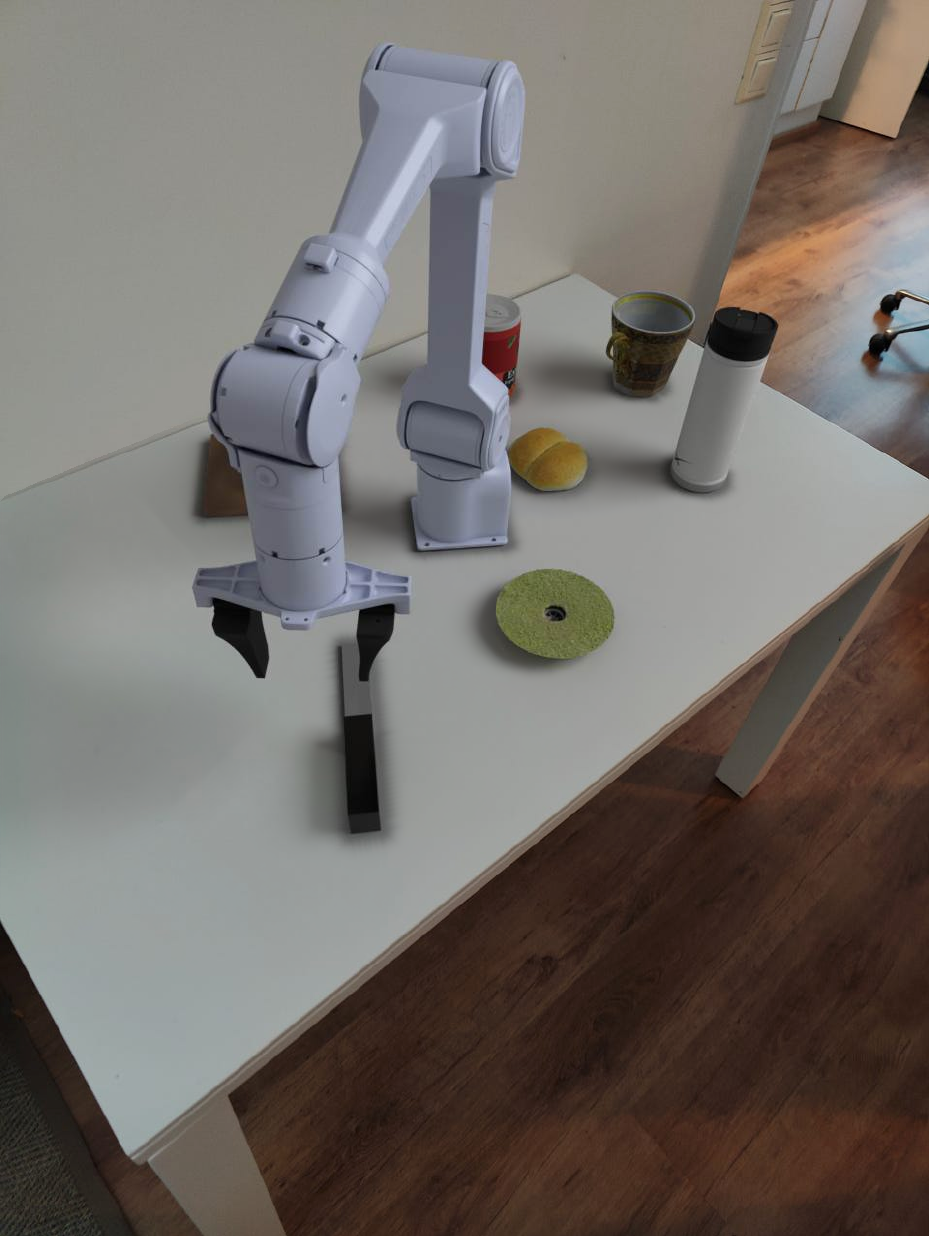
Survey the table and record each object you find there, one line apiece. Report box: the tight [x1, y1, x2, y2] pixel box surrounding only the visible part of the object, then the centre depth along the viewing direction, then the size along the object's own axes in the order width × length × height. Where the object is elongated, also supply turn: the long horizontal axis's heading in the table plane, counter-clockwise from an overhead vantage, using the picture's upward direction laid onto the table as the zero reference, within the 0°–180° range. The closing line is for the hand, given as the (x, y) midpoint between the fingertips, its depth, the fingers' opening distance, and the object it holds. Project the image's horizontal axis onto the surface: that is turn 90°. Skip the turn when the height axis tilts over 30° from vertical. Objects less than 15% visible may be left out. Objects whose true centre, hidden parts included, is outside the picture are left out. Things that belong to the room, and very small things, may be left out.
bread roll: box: [508, 427, 589, 492], centre depth 93 cm, size 8×9×4 cm
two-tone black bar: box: [341, 641, 382, 835], centre depth 69 cm, size 19×2×3 cm, turn 8°
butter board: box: [202, 433, 249, 518], centre depth 92 cm, size 14×13×1 cm
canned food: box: [482, 293, 522, 400], centre depth 100 cm, size 8×8×11 cm
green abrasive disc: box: [495, 568, 616, 659], centre depth 78 cm, size 11×11×2 cm
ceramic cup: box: [605, 290, 696, 398], centre depth 102 cm, size 13×10×10 cm
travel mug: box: [669, 306, 779, 493], centre depth 87 cm, size 6×7×20 cm
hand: (313, 669), depth 62 cm, fingers open, 7 cm apart
